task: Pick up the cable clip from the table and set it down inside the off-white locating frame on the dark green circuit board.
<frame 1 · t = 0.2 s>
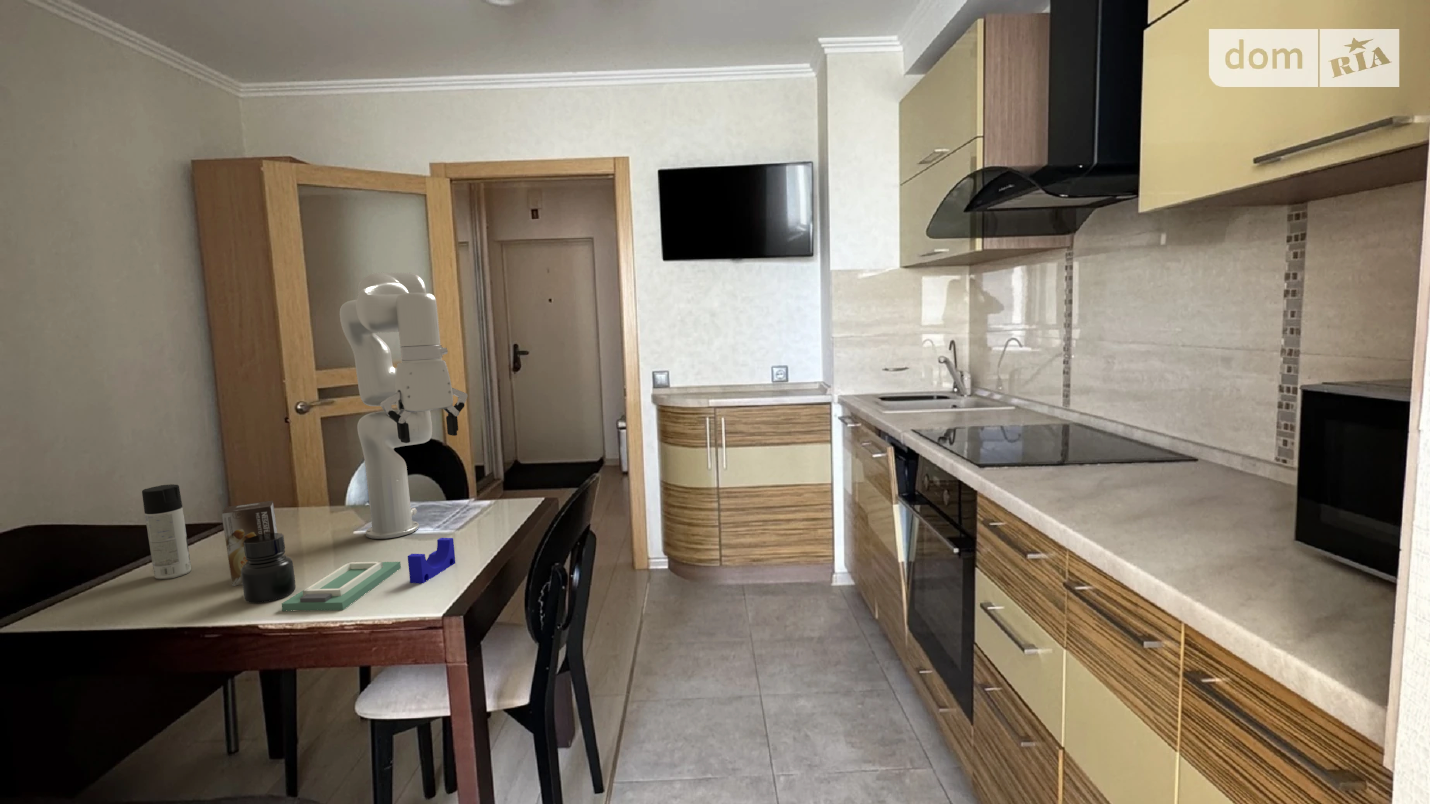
hand: (429, 438, 143), 30 cm above the table, tool pointing down, fingers open, 9 cm apart
coffee box: (258, 578, 152), on the table
spray can: (173, 575, 157), on the table
cable clip: (430, 574, 151), on the table
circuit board: (345, 588, 144), on the table
ink bottle: (270, 596, 142), on the table
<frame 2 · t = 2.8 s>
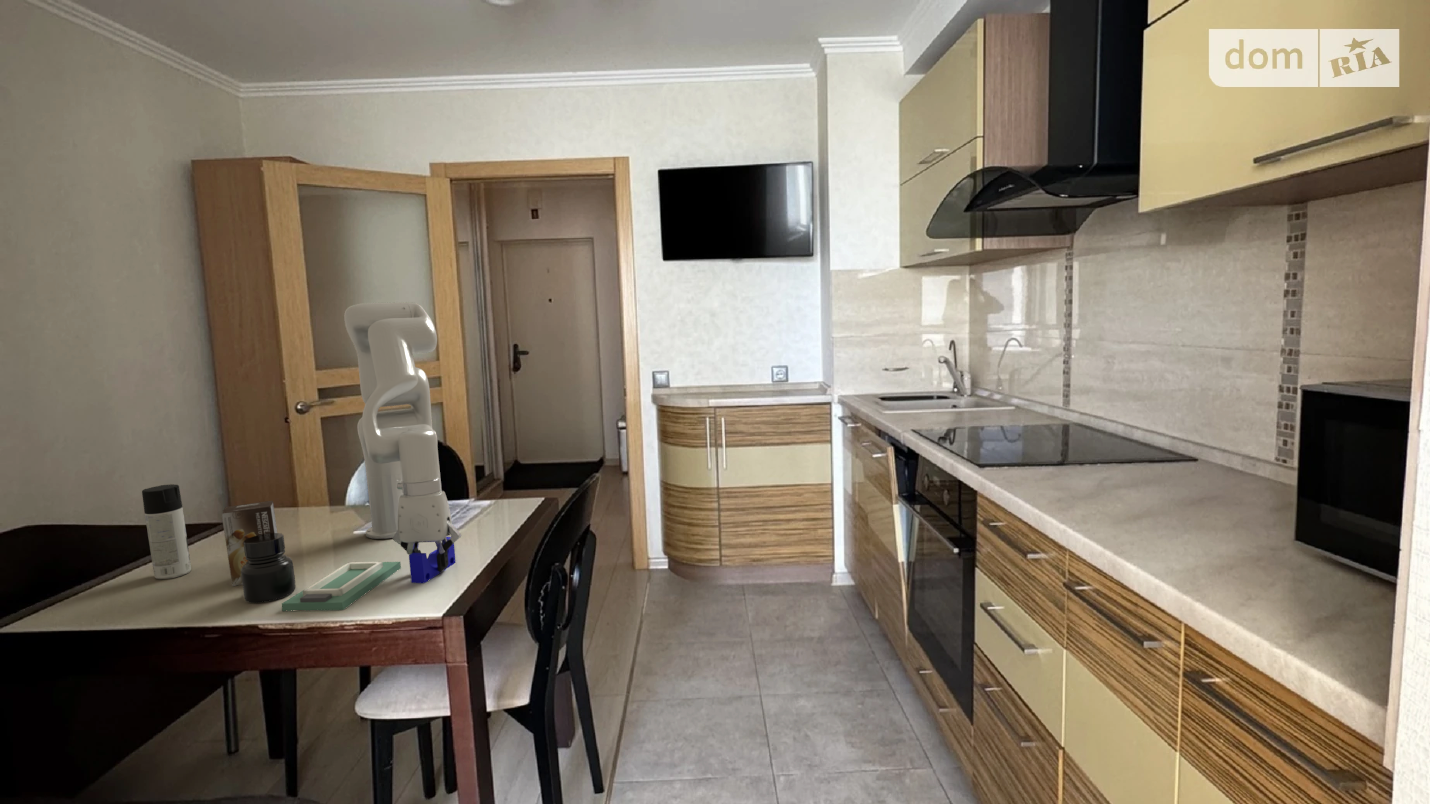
hand: (430, 569, 151), 1 cm above the table, tool pointing down, fingers closed on cable clip, 4 cm apart
cable clip: (431, 573, 151), on the table, touching gripper
everything else where it was.
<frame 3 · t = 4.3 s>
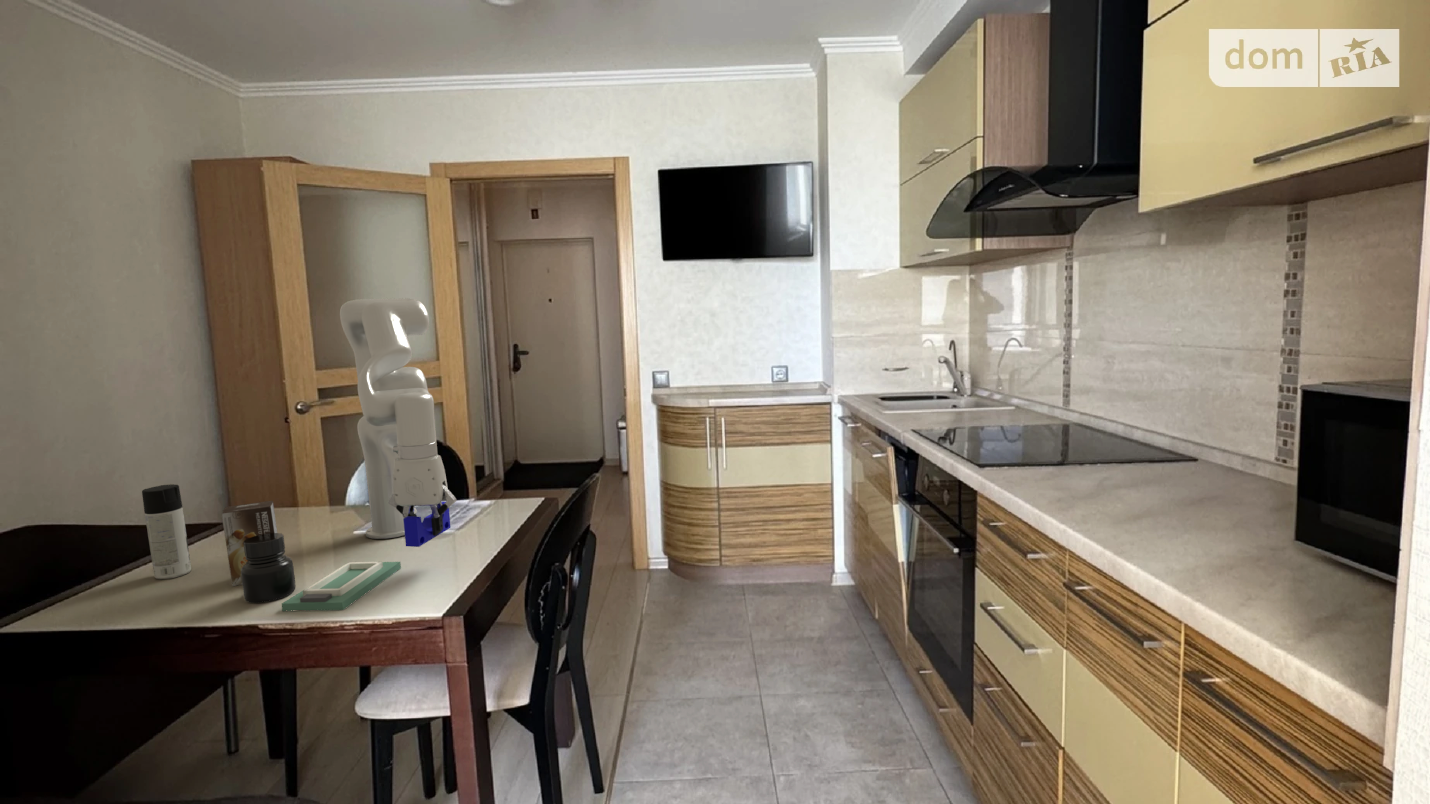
hand: (425, 533, 151), 9 cm above the table, tool pointing down, fingers closed on cable clip, 4 cm apart
cable clip: (425, 537, 151), point 7 cm above the table, touching gripper
everything else where it was.
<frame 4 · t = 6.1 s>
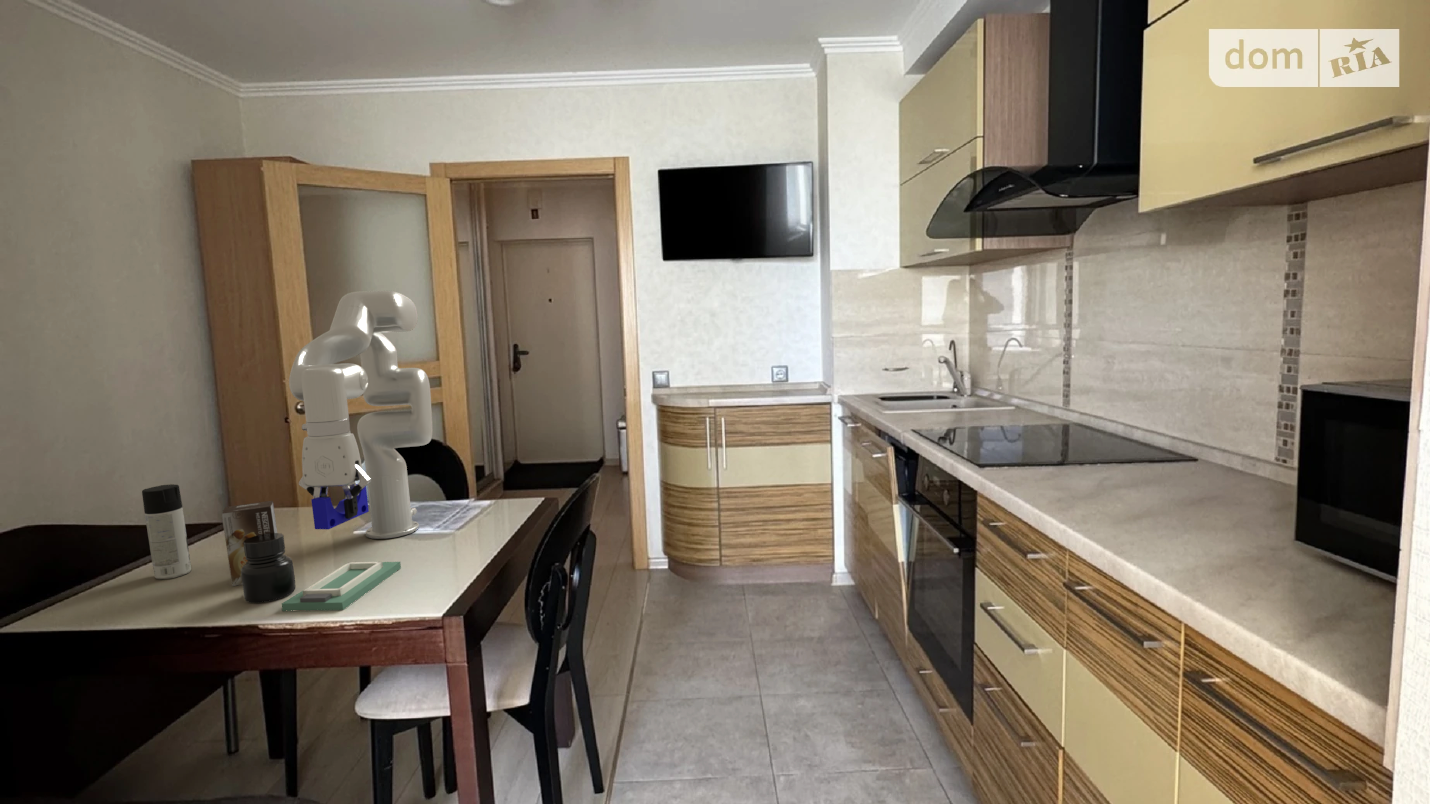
hand: (338, 516, 142), 15 cm above the table, tool pointing down, fingers closed on cable clip, 4 cm apart
cable clip: (339, 520, 143), point 14 cm above the table, touching gripper
everything else where it was.
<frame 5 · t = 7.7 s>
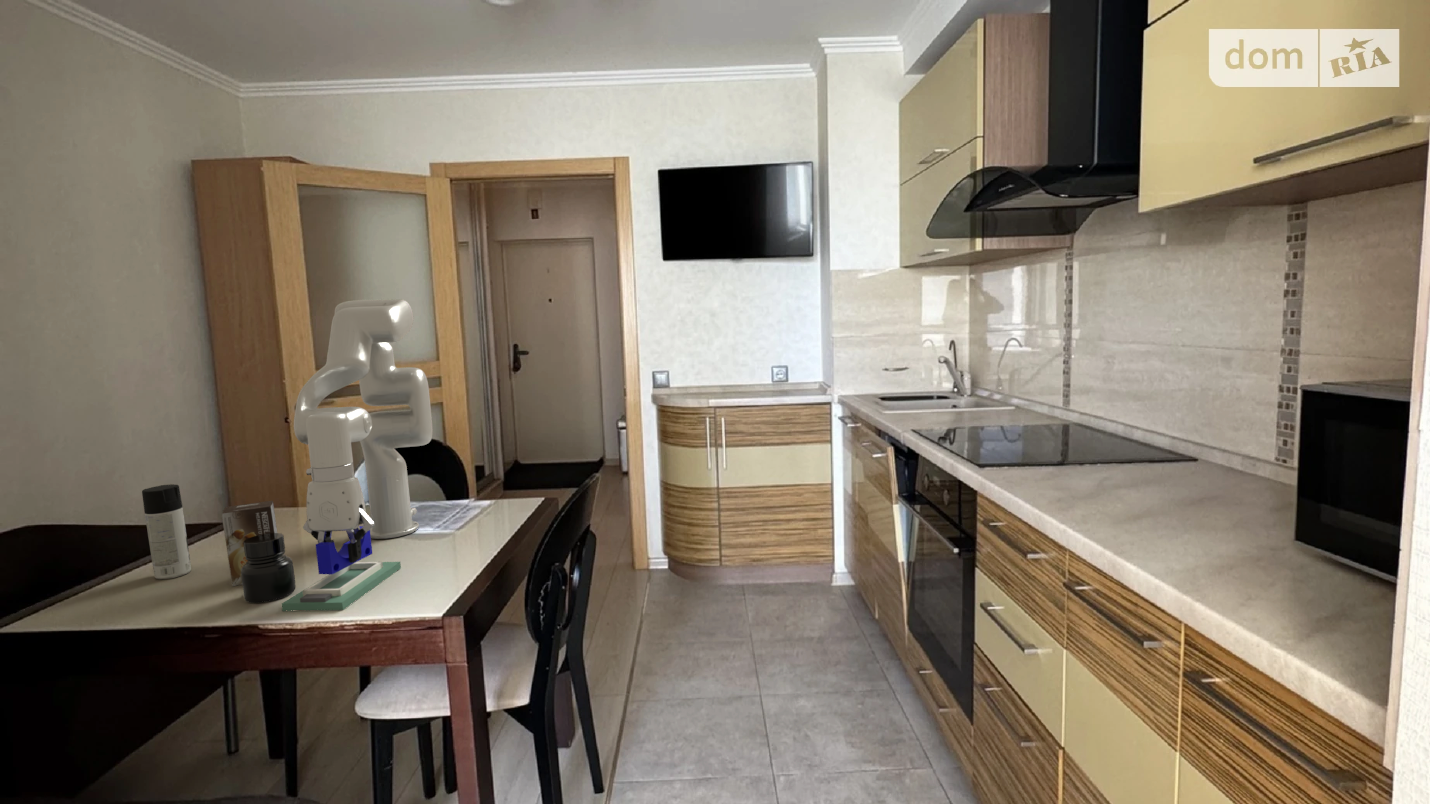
hand: (342, 559, 143), 6 cm above the table, tool pointing down, fingers closed on cable clip, 4 cm apart
cable clip: (343, 564, 144), point 5 cm above the table, touching gripper
everything else where it was.
when the fingers open (4 cm above the table, at t = 9.0 s): cable clip drops 1 cm, resting on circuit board.
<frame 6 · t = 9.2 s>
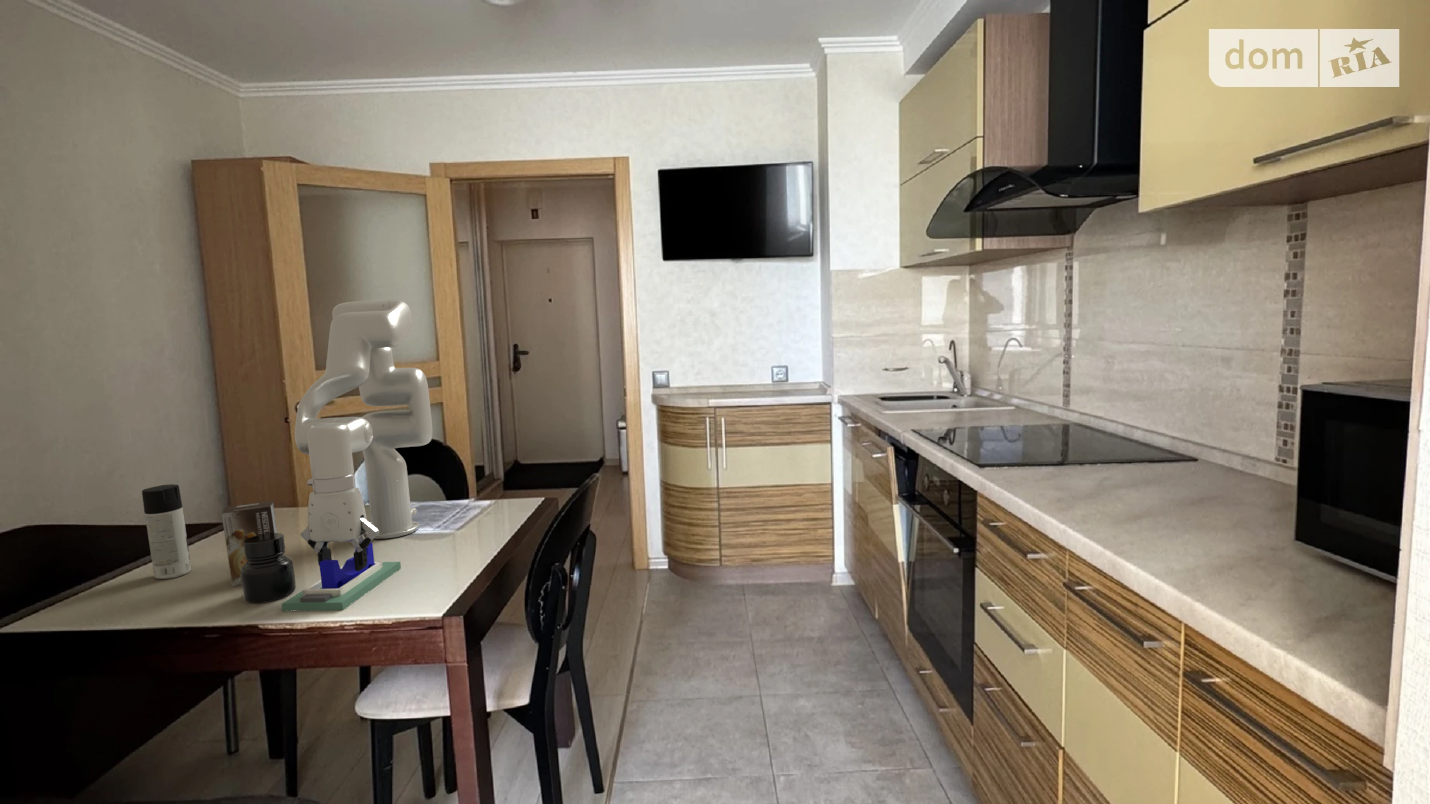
hand: (343, 568, 144), 4 cm above the table, tool pointing down, fingers open, 6 cm apart
cable clip: (346, 581, 144), point 1 cm above the table, touching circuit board
everything else where it was.
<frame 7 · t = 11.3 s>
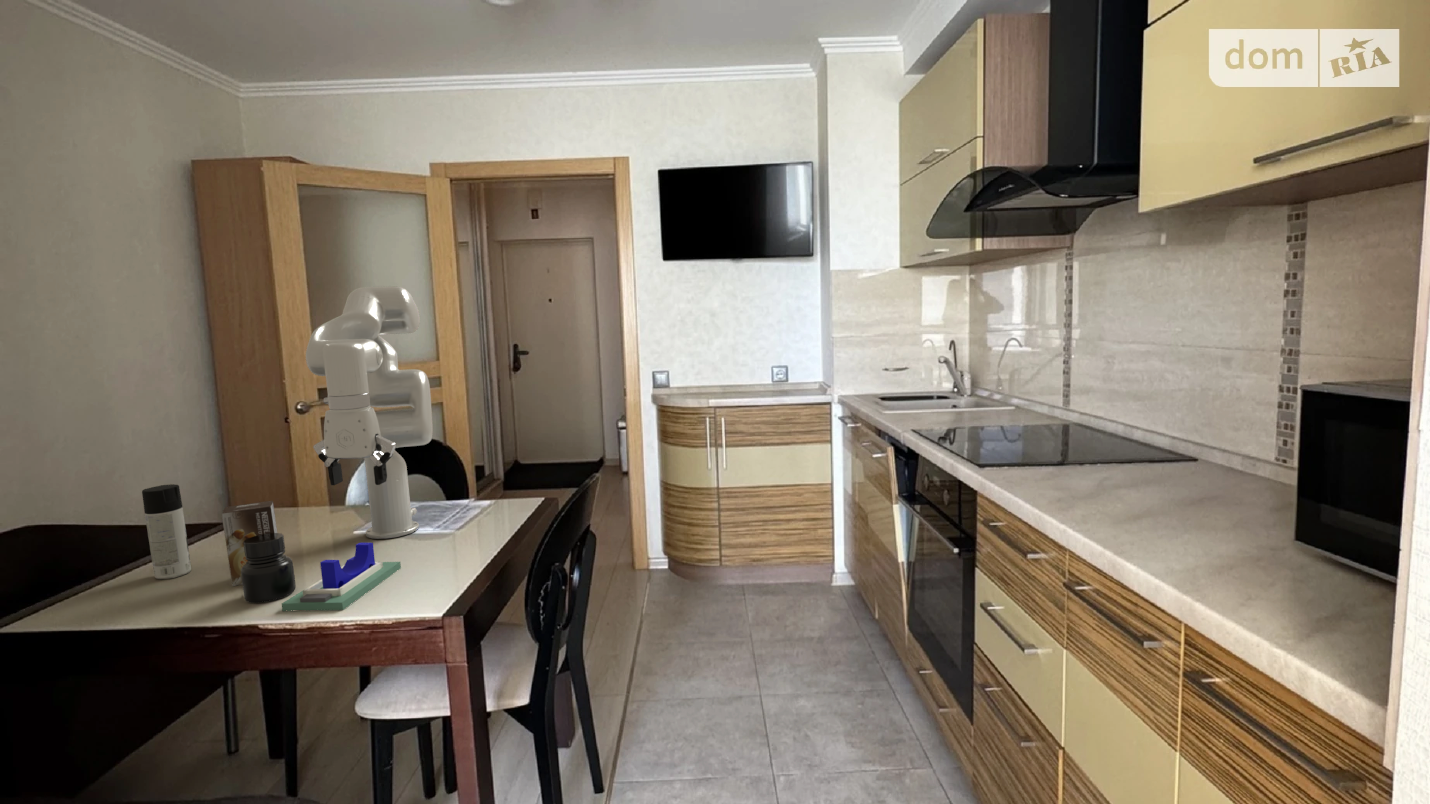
hand: (358, 483, 146), 21 cm above the table, tool pointing down, fingers open, 9 cm apart
nothing on the table moved.
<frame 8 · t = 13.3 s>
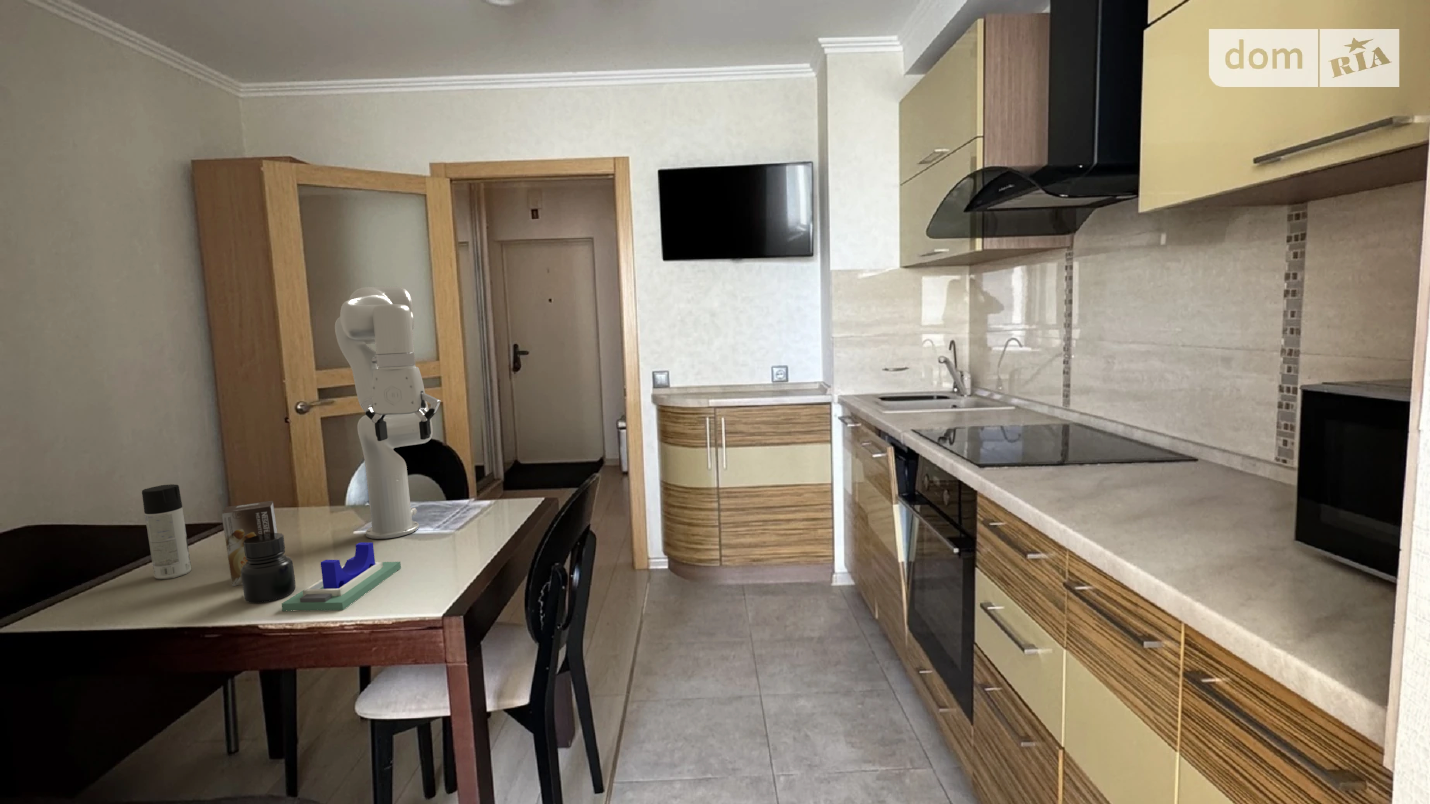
hand: (404, 439, 154), 28 cm above the table, tool pointing down, fingers open, 9 cm apart
nothing on the table moved.
at the end: cable clip 0.6 cm off-centre on the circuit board, point 1.3 cm above the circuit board's base; cable clip touching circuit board; the gripper is holding nothing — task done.
